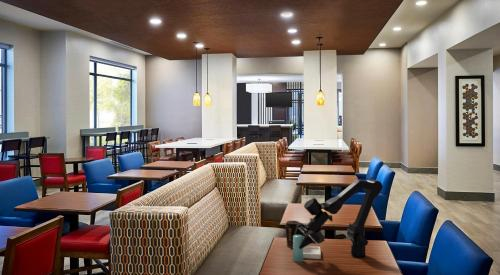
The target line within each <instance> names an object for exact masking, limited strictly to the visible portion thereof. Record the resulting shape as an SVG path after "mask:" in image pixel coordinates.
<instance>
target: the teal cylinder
mask: <svg viewBox="0 0 500 275" xmlns="http://www.w3.org/2000/svg"><path fill="white" fill-rule="evenodd" d="M303 239H304V236H302V235H294V236H293V248H292V261H293V262H294V263H303V261H304V258H303V248H302V249H300V248H299V246H300V244H301V242H302V240H303Z"/></svg>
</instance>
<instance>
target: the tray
mask: <svg viewBox="0 0 500 275" xmlns="http://www.w3.org/2000/svg"><path fill="white" fill-rule="evenodd" d="M321 257H322V254H321V247H320V246H314V245H313V246H311V245H307V246H305V247H304V248H303V259H314V260H316V259H317V260H321Z"/></svg>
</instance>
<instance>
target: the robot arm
mask: <svg viewBox="0 0 500 275" xmlns="http://www.w3.org/2000/svg"><path fill="white" fill-rule="evenodd" d="M383 187H384V186H383V184H382V182H381V181H380V180H376V179H372V178H371V179H367V180H365V179H358V178H357V179H355V180H354V181H353V182H352V183H351V184H349V185H348V186H347V187H346V188H345V189H343V190H342V191H341V192H340V193H339V194H338V195H336V196H333V197H331V198H329V199H327V200H326V201H324V202H321V203H320V202H319V201H318V200H317V199H316V198H315V197H312V198H311V199H309V200H307V201H306V202H305V203H304V205H303V207H304V209H305V210H306V211H307V212H308V213H309V214H310V215H311V216H314V217H312V218H310V219H309V220H310V221H309V222H308V223H307V224H306V223H305V224H303V222H300V221H299V222H300V223H298V224H297V225H296V226H297V227H296V231H295V234H294V235H302V236H303V240H302V242H301V244H300V246H299V248H300V249H302V248H304V247H305V246H310V245H311V244H312V245H314V244H315V245H316V244H318V245H319V244H322V243H323V242H325V241H326V240H325V238H324V235H323V234H322V230H323V226H324V225H325V224H326V223H327V222H328V220H329V222H333V220H334V219H333V215H336V214H338V213H339V211H340V210H341V209H342V207H343V205H344V204H345V203H346V202H347V201H349V199H351V198H352V197H353V196H354V195H355V194H356V193H358V191H360V190H361V189H364V197H363V200H362V203H361V205H360V207H359V210H358V213H357V215H356V218H355V220H354V222H353V223H348V228H346V235H347V237H348V239H349V241H350V242H351V245H350V255H352V257H353V258H367V256H366V246H368V244H369V240H368V239H367V238H366V237H365V229H366V228H365V225H366V222H367V219H368V218H369V217H368V216H369V215H370V211H371V208H372V207H373V204H374V201H375V199H376V198H377V197H378V196H379V195H380V194H381V192H382V191H383ZM323 210H324V211H323ZM292 242H293V241H292Z"/></svg>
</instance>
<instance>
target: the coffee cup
mask: <svg viewBox="0 0 500 275" xmlns="http://www.w3.org/2000/svg"><path fill="white" fill-rule="evenodd" d="M298 223H300V221H298V220H287V221H286V223H285V225H284V227H285V237H286V239H285V240H286V247H288V248H292V249H293V242H292V241H293V236H294V234H295V231H296V227H297V226H296V225H297V224H298Z"/></svg>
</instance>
